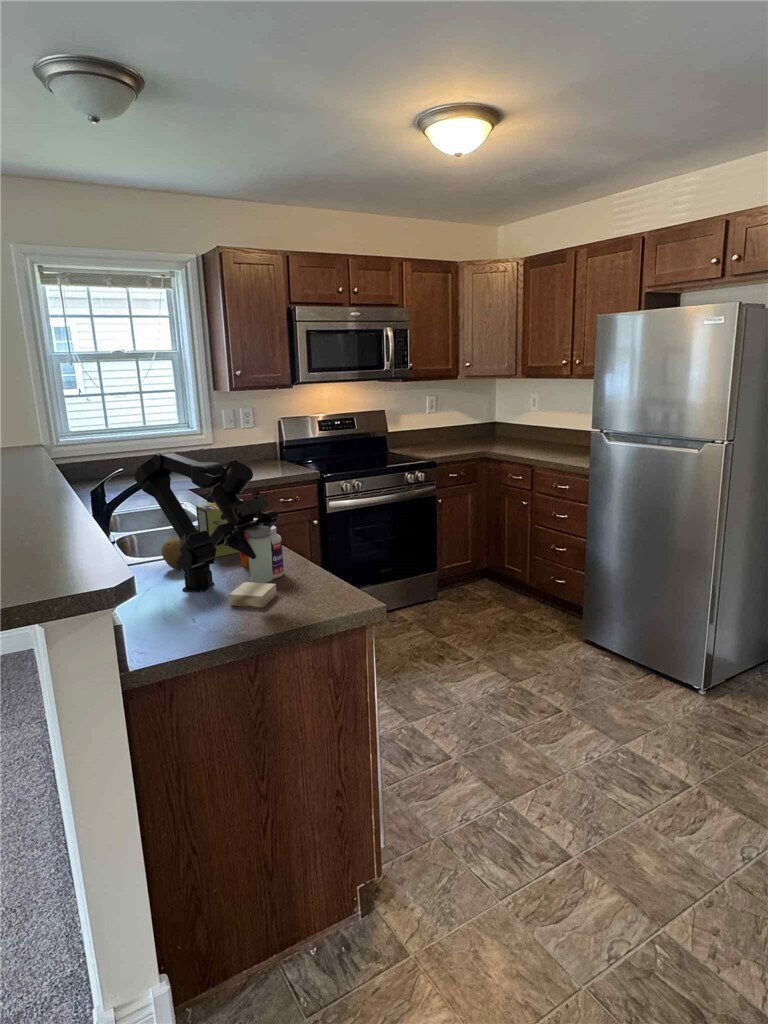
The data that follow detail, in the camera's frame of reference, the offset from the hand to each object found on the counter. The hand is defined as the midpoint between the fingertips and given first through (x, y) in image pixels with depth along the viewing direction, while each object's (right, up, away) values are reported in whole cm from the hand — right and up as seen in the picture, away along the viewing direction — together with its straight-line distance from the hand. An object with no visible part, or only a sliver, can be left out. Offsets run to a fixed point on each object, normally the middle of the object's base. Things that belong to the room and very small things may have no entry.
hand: (263, 554), depth 154 cm
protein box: (-22, -2, +53) cm, 57 cm away
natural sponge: (-32, -7, +35) cm, 48 cm away
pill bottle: (-3, -8, +27) cm, 28 cm away
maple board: (-4, -12, +9) cm, 16 cm away
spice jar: (-1, -6, +2) cm, 7 cm away
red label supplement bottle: (-11, -6, +37) cm, 39 cm away
